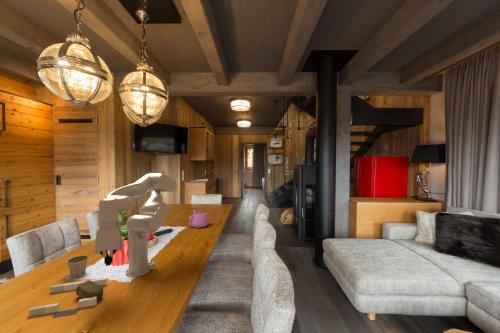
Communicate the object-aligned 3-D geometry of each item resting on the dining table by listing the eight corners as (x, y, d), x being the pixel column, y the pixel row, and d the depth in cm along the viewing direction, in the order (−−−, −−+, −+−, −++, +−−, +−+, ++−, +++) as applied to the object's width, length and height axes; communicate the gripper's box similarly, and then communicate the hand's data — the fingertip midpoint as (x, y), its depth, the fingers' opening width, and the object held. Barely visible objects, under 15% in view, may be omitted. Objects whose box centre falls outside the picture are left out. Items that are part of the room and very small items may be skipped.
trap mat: (80, 308, 91) (80, 307, 91) (76, 314, 88) (76, 313, 88) (56, 312, 89) (56, 312, 89) (51, 319, 85) (50, 318, 85)
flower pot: (62, 280, 113) (62, 263, 112) (72, 271, 122) (71, 256, 122) (84, 278, 115) (83, 261, 115) (91, 269, 124) (91, 254, 124)
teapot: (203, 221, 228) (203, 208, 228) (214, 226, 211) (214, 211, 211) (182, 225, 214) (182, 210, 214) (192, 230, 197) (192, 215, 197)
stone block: (88, 289, 103) (89, 278, 103) (104, 297, 99) (105, 286, 99) (74, 295, 98) (75, 284, 98) (90, 304, 93) (91, 293, 93)
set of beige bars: (107, 283, 110) (107, 277, 110) (95, 305, 93) (95, 298, 93) (52, 292, 103) (52, 285, 103) (28, 317, 86) (28, 310, 86)
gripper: (128, 221, 108) (128, 259, 108) (92, 224, 103) (92, 263, 103) (125, 225, 101) (125, 265, 101) (86, 228, 96) (86, 270, 96)
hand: (108, 264), depth 102 cm, fingers closed
